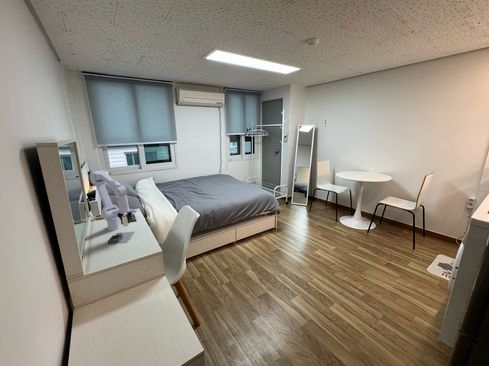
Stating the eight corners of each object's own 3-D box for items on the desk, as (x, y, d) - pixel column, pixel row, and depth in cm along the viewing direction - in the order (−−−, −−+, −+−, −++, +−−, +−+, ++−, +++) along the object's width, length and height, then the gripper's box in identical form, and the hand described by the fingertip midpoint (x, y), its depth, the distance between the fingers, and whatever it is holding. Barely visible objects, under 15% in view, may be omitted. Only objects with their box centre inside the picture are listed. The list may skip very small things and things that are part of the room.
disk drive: (137, 222, 165) (134, 216, 177) (136, 219, 164) (134, 213, 176) (122, 226, 160) (120, 219, 171) (121, 223, 159) (119, 216, 171)
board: (117, 234, 147) (116, 232, 146) (135, 232, 148) (134, 230, 148) (106, 246, 132) (106, 243, 132) (127, 244, 134) (126, 242, 134)
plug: (125, 223, 144) (124, 214, 142) (130, 223, 145) (128, 213, 143) (123, 226, 141) (121, 216, 139) (128, 226, 141) (126, 216, 139)
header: (113, 238, 140) (112, 235, 139) (122, 237, 141) (122, 234, 140) (108, 243, 133) (107, 240, 133) (118, 242, 134) (117, 240, 133)
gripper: (108, 207, 134) (112, 226, 137) (132, 205, 136) (135, 224, 140) (113, 203, 141) (117, 221, 144) (136, 201, 143) (139, 220, 146)
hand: (126, 222), depth 142 cm, fingers closed on plug, 3 cm apart
